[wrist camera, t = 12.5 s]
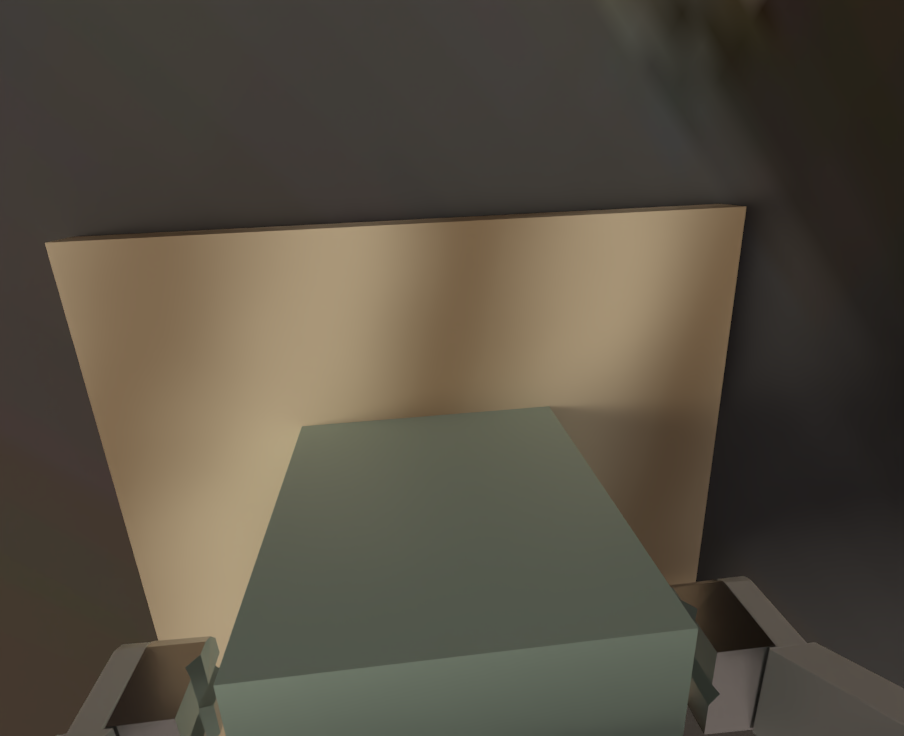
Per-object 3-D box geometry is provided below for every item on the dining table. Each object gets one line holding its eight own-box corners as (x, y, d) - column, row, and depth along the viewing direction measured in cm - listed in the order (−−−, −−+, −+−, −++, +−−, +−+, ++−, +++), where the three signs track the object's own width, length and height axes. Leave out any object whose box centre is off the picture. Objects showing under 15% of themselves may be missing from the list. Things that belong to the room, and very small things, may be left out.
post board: (720, 204, 13) (1055, 238, 6) (664, 668, 17) (823, 955, 11) (73, 237, 11) (-325, 320, 5) (203, 725, 16) (83, 1085, 10)
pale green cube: (548, 406, 13) (698, 627, 7) (544, 599, 15) (657, 913, 9) (301, 426, 12) (212, 686, 6) (330, 623, 14) (285, 973, 8)
